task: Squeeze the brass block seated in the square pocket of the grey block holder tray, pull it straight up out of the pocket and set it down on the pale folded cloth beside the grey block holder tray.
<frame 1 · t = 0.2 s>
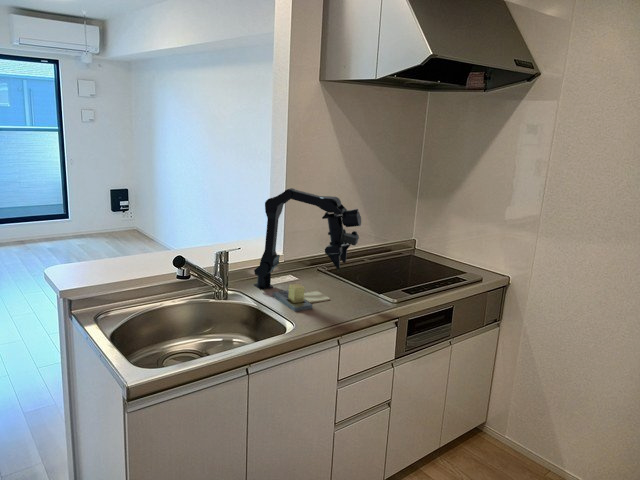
hand: (341, 265, 201), 15 cm above the counter, tool pointing down, fingers open, 9 cm apart
grey block holder tray: (291, 302, 198), on the counter
pale folded cloth: (313, 297, 205), on the counter
brass block: (295, 304, 196), resting in grey block holder tray
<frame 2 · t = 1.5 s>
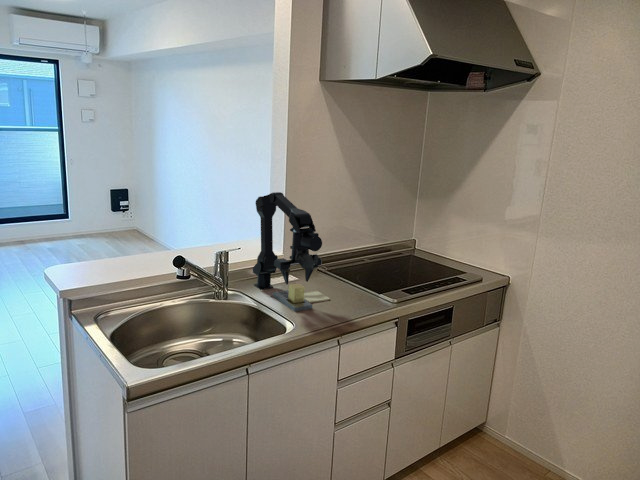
hand: (296, 282, 194), 9 cm above the counter, tool pointing down, fingers open, 9 cm apart
nothing on the counter moved.
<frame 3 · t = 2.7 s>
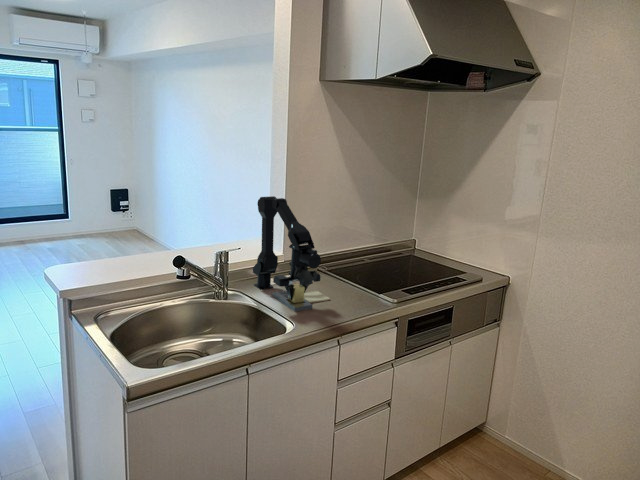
hand: (296, 298, 195), 3 cm above the counter, tool pointing down, fingers closed on brass block, 4 cm apart
brass block: (295, 304, 196), resting in grey block holder tray, touching gripper
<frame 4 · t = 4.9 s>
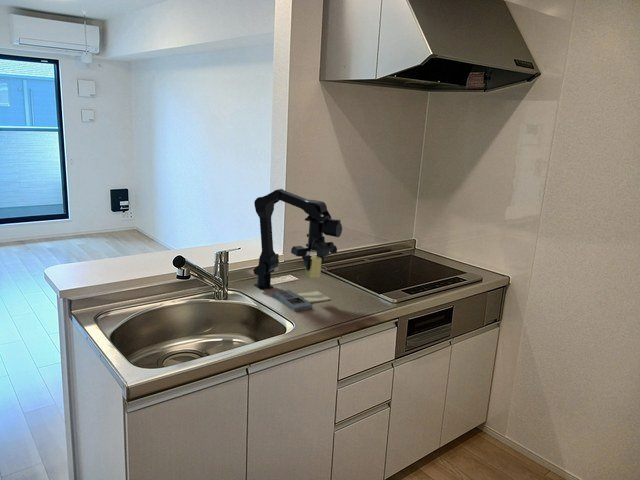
hand: (313, 269, 201), 13 cm above the counter, tool pointing down, fingers closed on brass block, 4 cm apart
brass block: (312, 275, 201), point 10 cm above the counter, touching gripper
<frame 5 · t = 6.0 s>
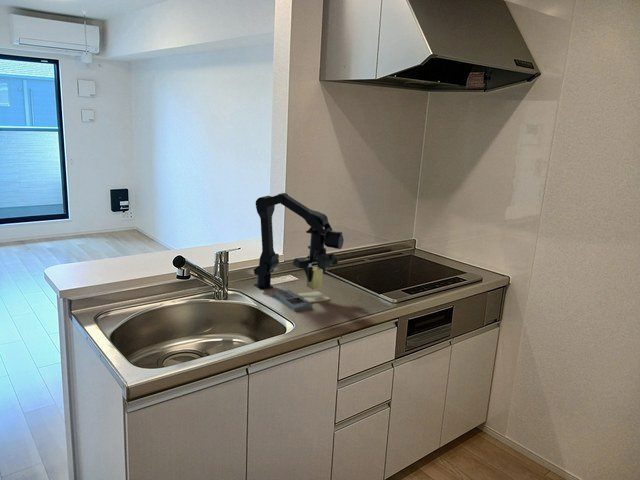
hand: (314, 281, 203), 7 cm above the counter, tool pointing down, fingers closed on brass block, 4 cm apart
brass block: (313, 286, 204), point 5 cm above the counter, touching gripper
when the fingers open (4 cm above the counter, at t = 6.9 s): brass block drops 1 cm, resting on pale folded cloth.
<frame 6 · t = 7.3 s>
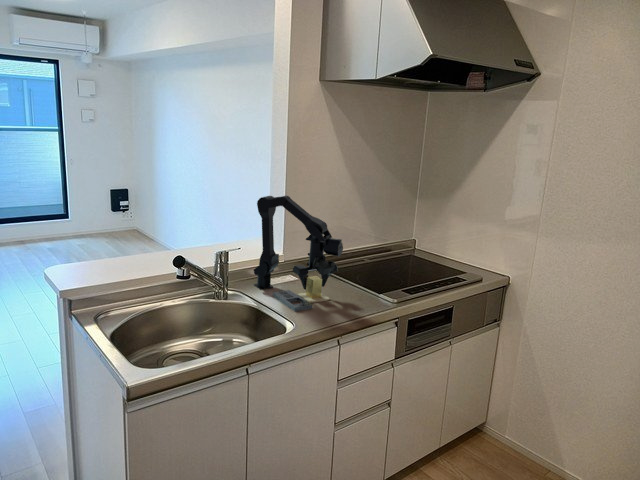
hand: (313, 288, 204), 4 cm above the counter, tool pointing down, fingers open, 9 cm apart
brass block: (313, 296, 205), point 1 cm above the counter, touching pale folded cloth
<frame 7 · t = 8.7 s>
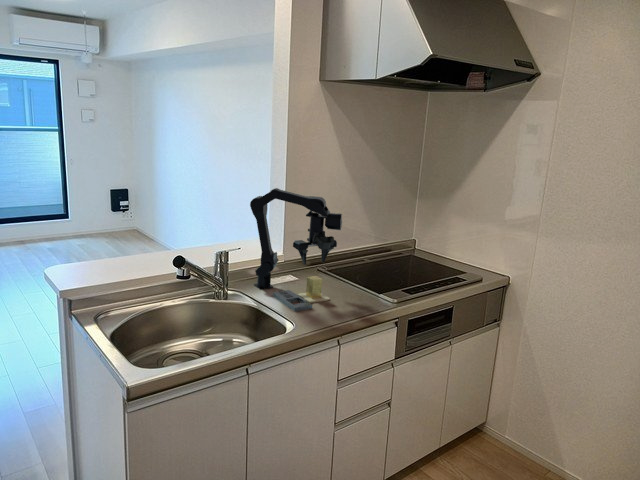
hand: (313, 263, 208), 13 cm above the counter, tool pointing down, fingers open, 9 cm apart
nothing on the counter moved.
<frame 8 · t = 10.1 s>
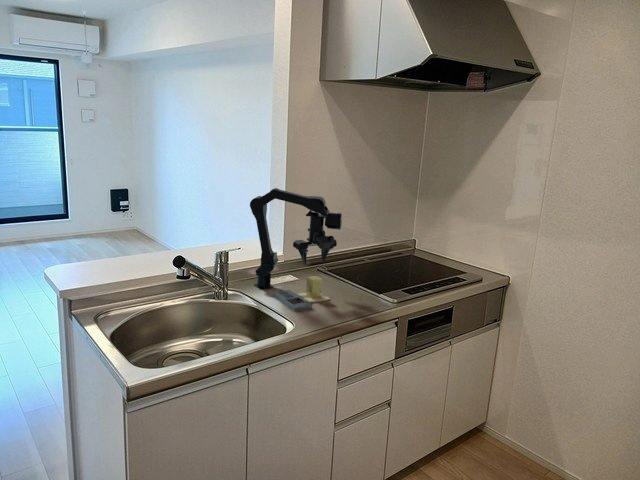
hand: (313, 263, 208), 13 cm above the counter, tool pointing down, fingers open, 9 cm apart
nothing on the counter moved.
at the end: brass block inside the target area (0.0 cm from its centre), point 0.6 cm above the counter; brass block tilted 0°; the gripper is holding nothing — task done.
